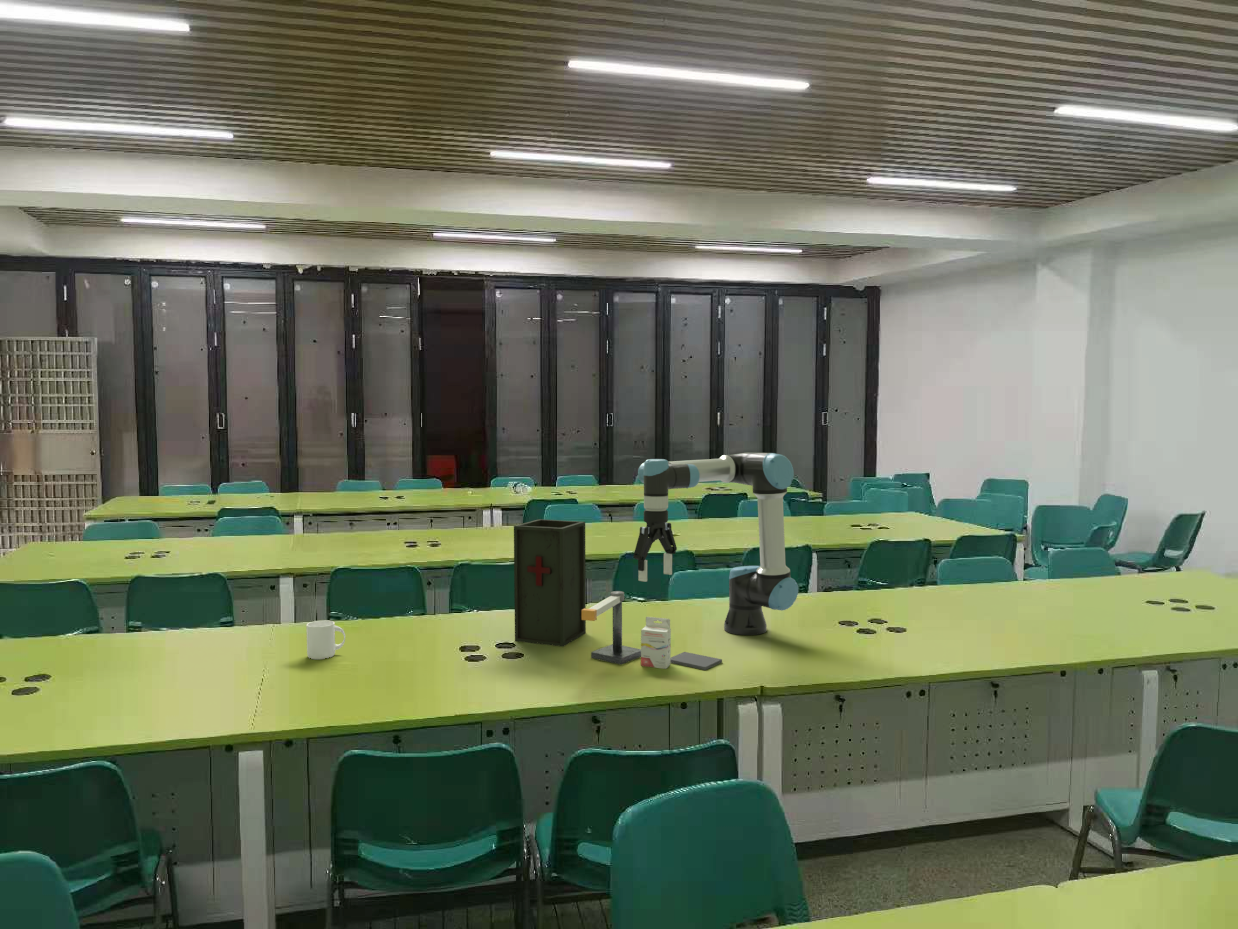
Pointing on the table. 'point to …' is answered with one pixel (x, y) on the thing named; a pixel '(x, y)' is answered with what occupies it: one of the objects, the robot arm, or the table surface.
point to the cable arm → (602, 606)
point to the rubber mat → (695, 660)
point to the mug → (322, 639)
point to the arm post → (617, 643)
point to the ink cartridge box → (656, 643)
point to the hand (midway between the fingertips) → (655, 577)
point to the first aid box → (549, 581)
